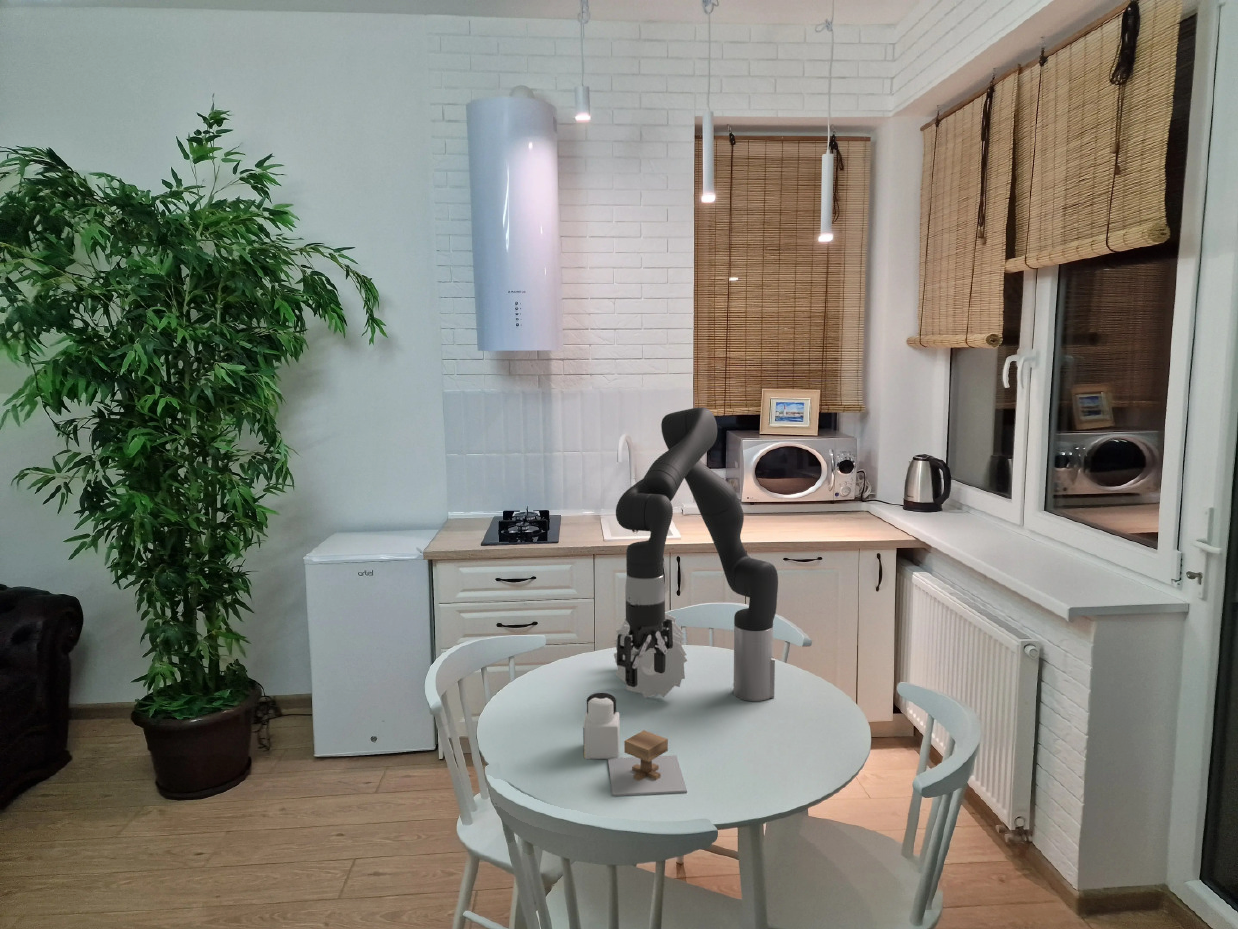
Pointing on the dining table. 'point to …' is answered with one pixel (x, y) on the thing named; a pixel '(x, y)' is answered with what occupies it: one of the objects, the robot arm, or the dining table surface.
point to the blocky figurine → (601, 727)
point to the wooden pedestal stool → (646, 753)
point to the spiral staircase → (646, 676)
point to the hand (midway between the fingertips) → (645, 679)
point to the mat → (628, 785)
